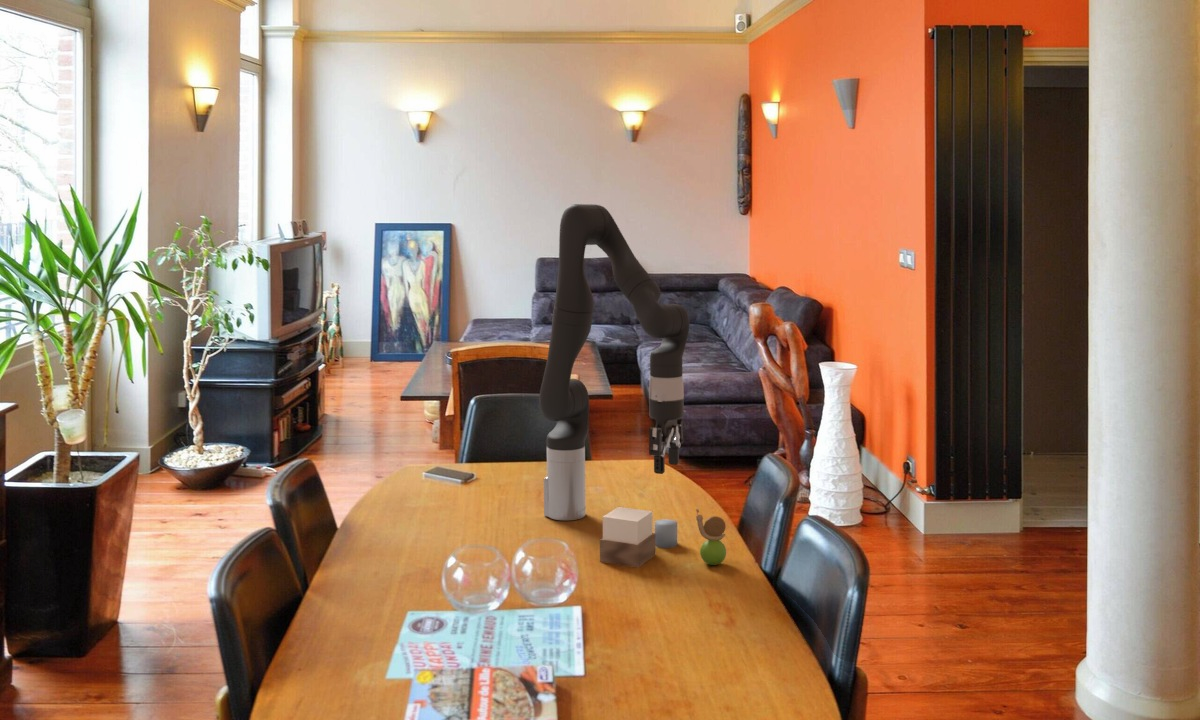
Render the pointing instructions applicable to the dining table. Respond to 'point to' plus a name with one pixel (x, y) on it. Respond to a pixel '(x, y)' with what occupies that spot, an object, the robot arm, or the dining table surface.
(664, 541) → the grey blue cylinder
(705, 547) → the snail figurine
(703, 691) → the dining table surface
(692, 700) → the dining table surface
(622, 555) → the tower base
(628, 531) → the tower top
